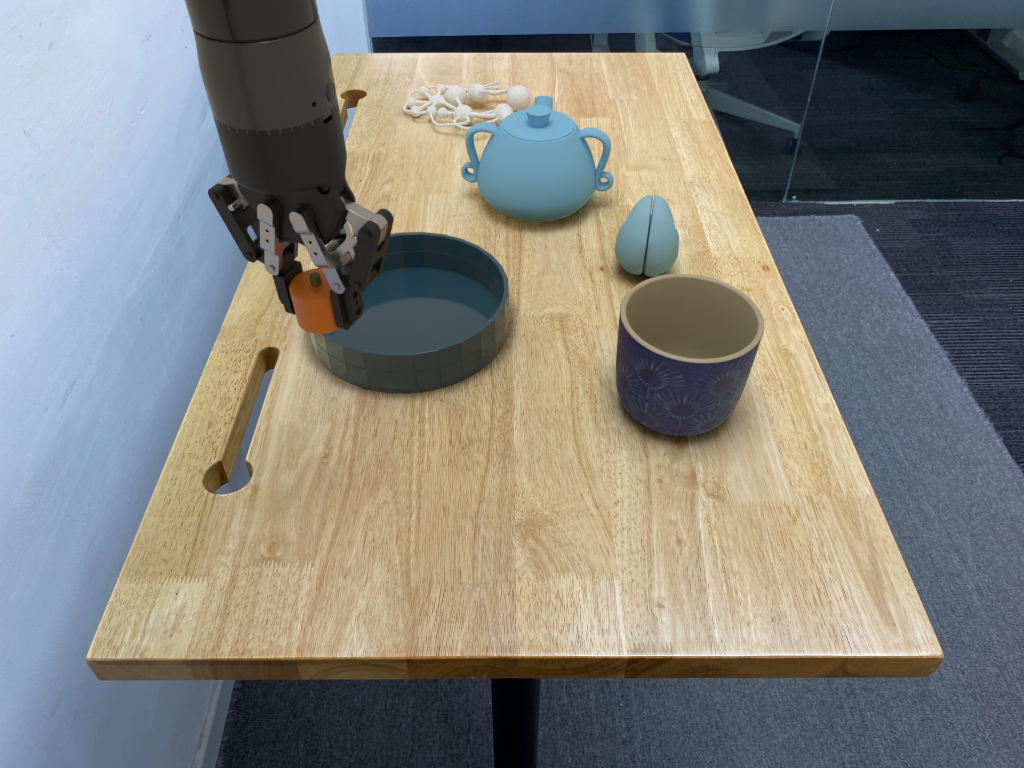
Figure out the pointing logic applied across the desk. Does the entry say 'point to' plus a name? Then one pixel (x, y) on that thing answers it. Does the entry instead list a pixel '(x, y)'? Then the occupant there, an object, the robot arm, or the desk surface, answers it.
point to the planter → (685, 352)
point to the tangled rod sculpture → (456, 98)
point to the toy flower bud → (648, 238)
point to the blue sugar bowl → (537, 164)
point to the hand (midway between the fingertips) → (323, 314)
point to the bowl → (423, 317)
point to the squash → (313, 302)
